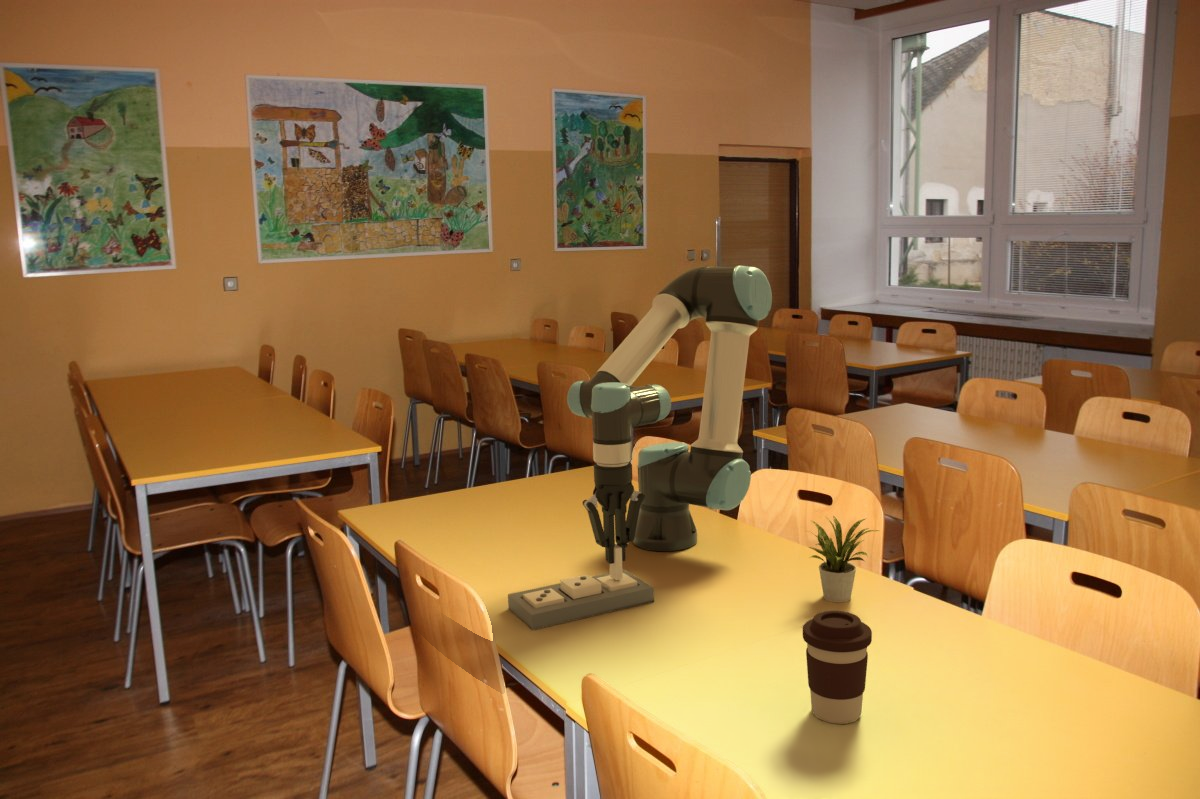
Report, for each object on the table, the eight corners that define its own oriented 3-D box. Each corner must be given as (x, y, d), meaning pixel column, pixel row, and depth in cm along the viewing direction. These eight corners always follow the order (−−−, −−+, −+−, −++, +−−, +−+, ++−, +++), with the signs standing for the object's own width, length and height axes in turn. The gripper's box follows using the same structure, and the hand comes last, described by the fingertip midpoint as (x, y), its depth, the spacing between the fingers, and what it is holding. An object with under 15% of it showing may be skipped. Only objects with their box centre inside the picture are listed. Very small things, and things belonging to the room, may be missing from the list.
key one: (623, 581, 198) (622, 571, 198) (637, 590, 193) (637, 580, 193) (596, 587, 196) (596, 576, 195) (610, 596, 190) (610, 586, 190)
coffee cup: (794, 700, 150) (794, 608, 148) (857, 695, 151) (858, 603, 149) (813, 732, 141) (814, 634, 138) (880, 727, 141) (882, 629, 139)
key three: (551, 597, 191) (551, 586, 191) (564, 607, 186) (564, 596, 186) (523, 603, 189) (522, 593, 188) (535, 614, 183) (535, 603, 183)
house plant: (887, 589, 194) (888, 510, 191) (875, 614, 182) (876, 530, 179) (815, 580, 200) (815, 504, 197) (799, 605, 188) (799, 523, 185)
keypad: (625, 583, 202) (624, 569, 202) (654, 601, 192) (653, 587, 191) (508, 608, 191) (507, 594, 190) (532, 630, 180) (531, 614, 180)
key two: (587, 583, 195) (587, 573, 194) (601, 593, 189) (601, 582, 189) (560, 589, 192) (560, 578, 192) (573, 599, 187) (573, 588, 186)
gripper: (632, 454, 196) (635, 566, 200) (574, 463, 190) (578, 578, 194) (651, 461, 190) (654, 577, 194) (591, 470, 184) (595, 589, 188)
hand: (616, 577), depth 194 cm, fingers closed
